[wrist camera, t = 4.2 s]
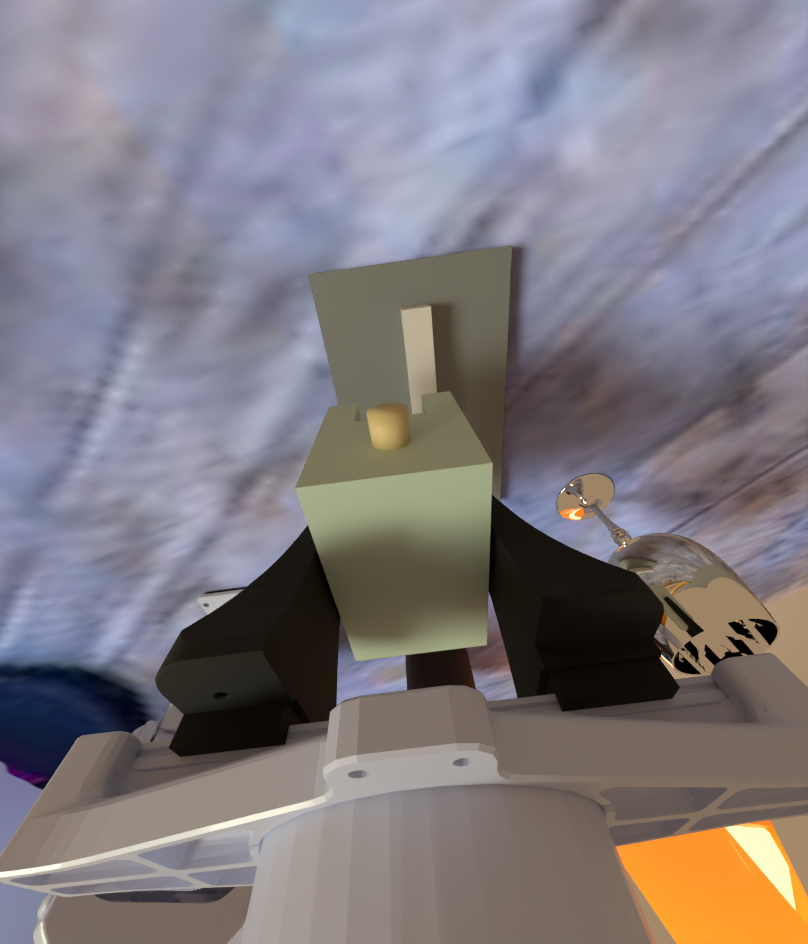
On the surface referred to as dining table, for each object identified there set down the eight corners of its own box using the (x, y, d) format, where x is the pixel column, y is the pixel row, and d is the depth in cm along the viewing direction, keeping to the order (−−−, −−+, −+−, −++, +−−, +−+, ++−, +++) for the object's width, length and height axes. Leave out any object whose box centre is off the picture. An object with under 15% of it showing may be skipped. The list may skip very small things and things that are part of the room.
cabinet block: (455, 536, 17) (486, 645, 12) (363, 548, 17) (355, 661, 12) (448, 366, 13) (493, 426, 8) (323, 382, 13) (282, 452, 8)
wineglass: (548, 474, 24) (674, 623, 14) (627, 458, 23) (817, 597, 13) (546, 531, 27) (649, 689, 17) (616, 518, 26) (765, 670, 16)
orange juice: (639, 637, 36) (873, 963, 19) (580, 675, 40) (731, 977, 22) (592, 617, 33) (813, 971, 16) (534, 660, 37) (664, 985, 20)
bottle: (401, 638, 33) (422, 1015, 16) (466, 630, 33) (555, 1001, 16) (408, 672, 37) (430, 1012, 20) (467, 665, 37) (540, 1000, 20)
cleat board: (496, 499, 25) (506, 519, 23) (367, 515, 25) (365, 538, 23) (505, 247, 16) (523, 242, 14) (311, 274, 17) (301, 274, 14)
